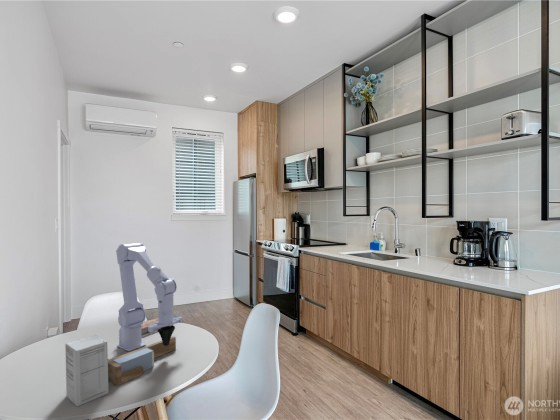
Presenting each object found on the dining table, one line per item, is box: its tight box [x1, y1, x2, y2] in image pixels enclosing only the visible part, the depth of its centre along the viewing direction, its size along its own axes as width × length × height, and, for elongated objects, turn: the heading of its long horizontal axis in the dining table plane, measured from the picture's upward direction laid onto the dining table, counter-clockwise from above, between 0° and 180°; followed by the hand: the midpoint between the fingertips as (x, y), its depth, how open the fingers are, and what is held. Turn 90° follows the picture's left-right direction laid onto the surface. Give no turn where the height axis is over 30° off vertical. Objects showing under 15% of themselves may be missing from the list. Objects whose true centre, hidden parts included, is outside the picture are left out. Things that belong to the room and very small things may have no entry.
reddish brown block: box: [141, 317, 159, 338], centre depth 161 cm, size 18×5×10 cm
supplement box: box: [64, 334, 109, 407], centre depth 106 cm, size 10×9×17 cm
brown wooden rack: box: [108, 336, 177, 386], centre depth 127 cm, size 10×30×6 cm, turn 144°
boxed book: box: [113, 348, 155, 374], centre depth 122 cm, size 4×13×6 cm, turn 144°
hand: (166, 344), depth 133 cm, fingers closed
